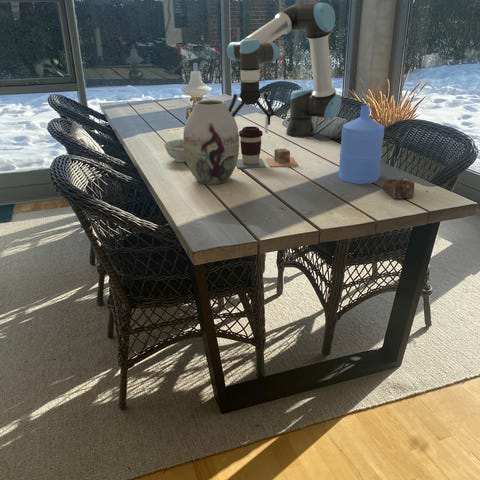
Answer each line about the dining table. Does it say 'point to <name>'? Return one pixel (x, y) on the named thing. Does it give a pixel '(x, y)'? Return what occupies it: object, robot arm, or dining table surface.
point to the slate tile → (244, 166)
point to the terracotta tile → (275, 164)
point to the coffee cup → (250, 144)
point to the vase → (211, 142)
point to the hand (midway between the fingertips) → (250, 133)
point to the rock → (399, 188)
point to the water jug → (361, 149)
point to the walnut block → (282, 156)
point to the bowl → (176, 150)
